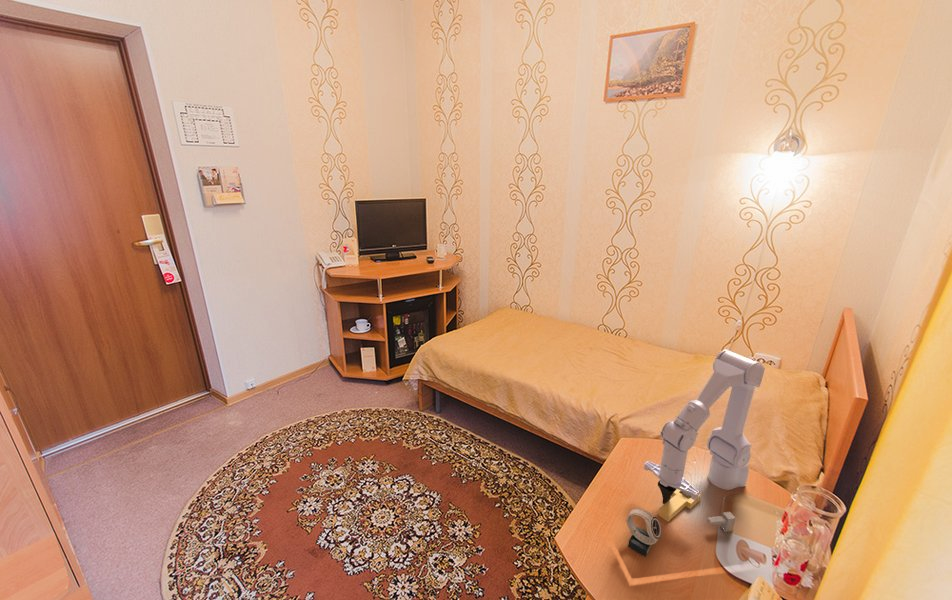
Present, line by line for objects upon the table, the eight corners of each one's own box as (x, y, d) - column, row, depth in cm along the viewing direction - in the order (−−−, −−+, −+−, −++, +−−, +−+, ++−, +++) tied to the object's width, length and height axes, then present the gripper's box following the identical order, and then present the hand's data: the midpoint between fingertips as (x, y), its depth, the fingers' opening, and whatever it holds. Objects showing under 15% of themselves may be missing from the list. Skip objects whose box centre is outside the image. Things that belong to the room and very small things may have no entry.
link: (681, 488, 115) (682, 483, 115) (699, 500, 111) (701, 494, 110) (653, 511, 108) (654, 505, 107) (672, 525, 103) (673, 519, 103)
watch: (653, 565, 94) (658, 531, 91) (620, 545, 99) (624, 512, 96) (660, 549, 98) (666, 515, 95) (629, 531, 103) (633, 498, 100)
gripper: (640, 454, 108) (634, 493, 113) (692, 486, 97) (684, 528, 101) (654, 444, 112) (648, 482, 116) (706, 474, 101) (697, 514, 105)
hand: (666, 502), depth 109 cm, fingers closed, pressing on link
